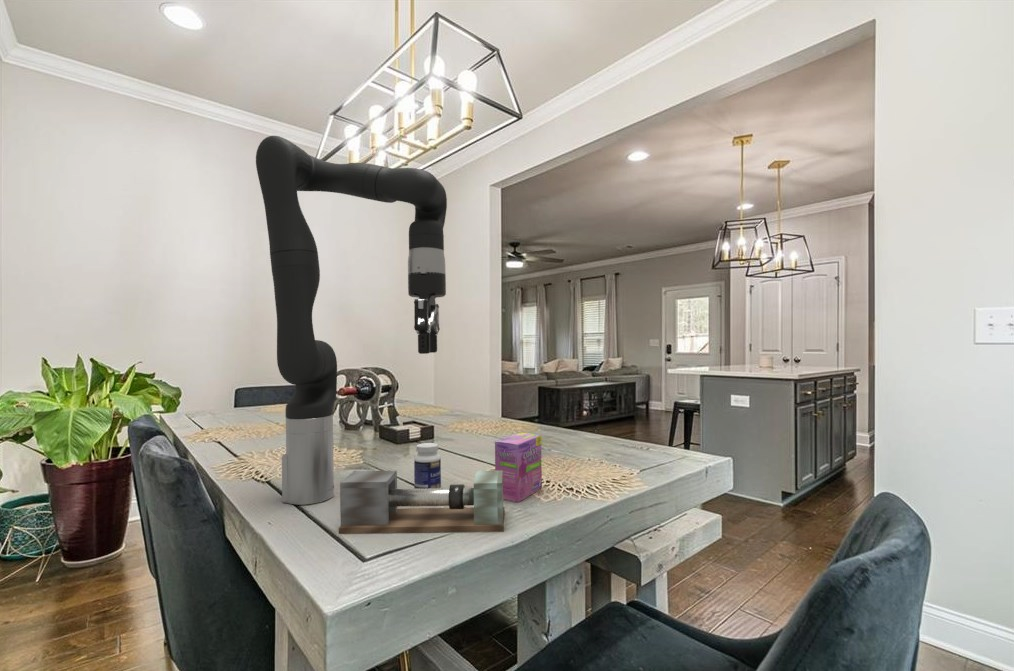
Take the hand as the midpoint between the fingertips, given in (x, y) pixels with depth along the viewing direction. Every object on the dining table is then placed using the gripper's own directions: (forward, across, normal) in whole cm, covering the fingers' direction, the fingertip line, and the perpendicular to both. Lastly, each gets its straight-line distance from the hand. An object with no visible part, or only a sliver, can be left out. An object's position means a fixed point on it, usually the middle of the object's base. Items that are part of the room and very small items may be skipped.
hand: (428, 353), depth 95 cm
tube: (+28, +10, +4) cm, 30 cm away
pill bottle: (+30, -8, -2) cm, 31 cm away
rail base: (+30, +10, +1) cm, 32 cm away
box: (+30, -5, +18) cm, 36 cm away
